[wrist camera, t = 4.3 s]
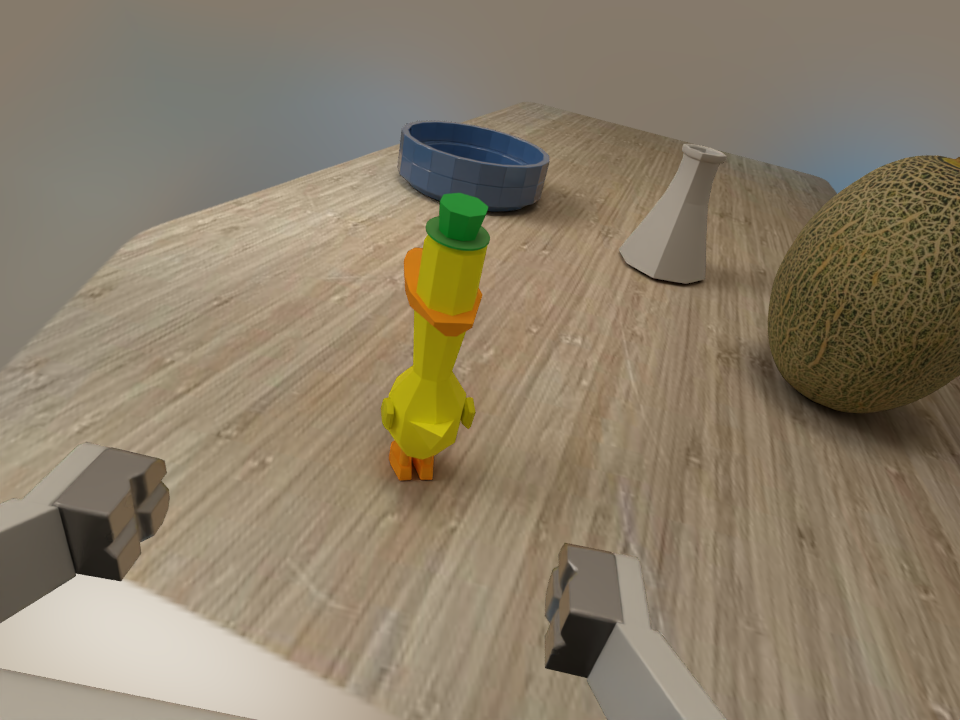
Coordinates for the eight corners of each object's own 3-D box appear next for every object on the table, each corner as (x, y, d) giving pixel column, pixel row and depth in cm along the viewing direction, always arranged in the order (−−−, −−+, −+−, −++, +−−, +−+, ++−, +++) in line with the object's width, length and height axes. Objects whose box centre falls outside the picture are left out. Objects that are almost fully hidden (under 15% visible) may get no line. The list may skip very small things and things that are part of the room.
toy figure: (362, 411, 28) (392, 153, 22) (437, 410, 29) (485, 165, 23) (380, 524, 23) (424, 227, 16) (469, 518, 24) (544, 237, 18)
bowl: (382, 193, 54) (387, 142, 51) (412, 155, 66) (417, 112, 63) (537, 227, 54) (549, 178, 52) (538, 183, 66) (549, 142, 64)
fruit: (724, 328, 44) (827, 114, 36) (881, 372, 43) (1023, 161, 35) (746, 417, 34) (893, 152, 26) (948, 477, 33) (1166, 220, 25)
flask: (603, 247, 53) (641, 131, 48) (669, 250, 56) (712, 141, 51) (648, 286, 48) (697, 159, 42) (719, 287, 50) (772, 168, 45)
